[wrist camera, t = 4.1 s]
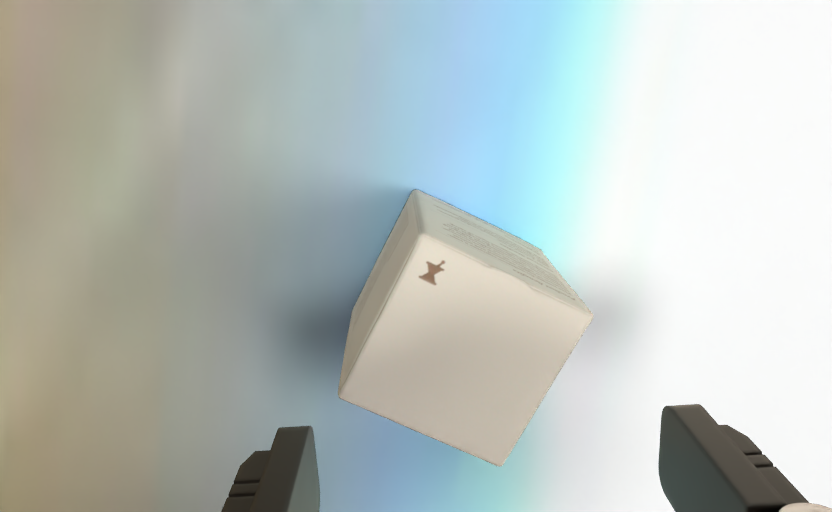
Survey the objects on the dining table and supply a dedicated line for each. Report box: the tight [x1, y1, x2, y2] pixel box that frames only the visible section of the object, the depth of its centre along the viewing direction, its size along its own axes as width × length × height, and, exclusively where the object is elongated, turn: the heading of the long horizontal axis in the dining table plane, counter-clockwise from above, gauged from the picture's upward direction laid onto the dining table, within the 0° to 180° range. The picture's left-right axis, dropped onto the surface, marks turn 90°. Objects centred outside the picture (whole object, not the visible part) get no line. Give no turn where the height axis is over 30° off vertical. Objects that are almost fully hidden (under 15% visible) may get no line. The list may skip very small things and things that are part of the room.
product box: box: [338, 189, 593, 467], centre depth 23 cm, size 6×6×7 cm
